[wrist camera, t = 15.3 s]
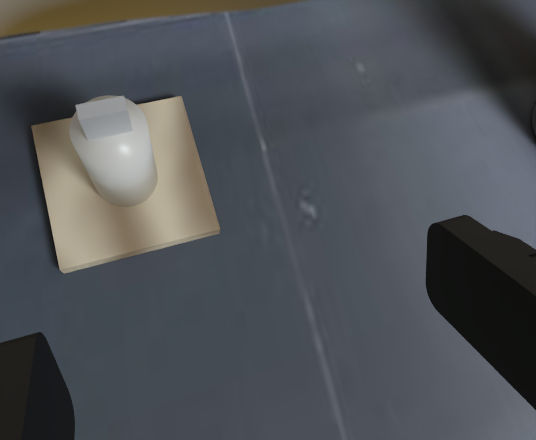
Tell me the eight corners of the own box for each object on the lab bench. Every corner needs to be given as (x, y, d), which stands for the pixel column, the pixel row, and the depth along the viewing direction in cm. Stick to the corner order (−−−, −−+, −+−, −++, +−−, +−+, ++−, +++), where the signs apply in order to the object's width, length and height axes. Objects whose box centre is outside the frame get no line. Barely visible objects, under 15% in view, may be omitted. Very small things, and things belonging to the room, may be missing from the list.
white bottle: (149, 144, 41) (133, 65, 31) (164, 198, 40) (152, 135, 30) (88, 157, 40) (51, 80, 30) (101, 213, 39) (67, 152, 29)
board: (181, 103, 44) (181, 95, 43) (219, 233, 41) (220, 228, 39) (35, 132, 41) (31, 125, 40) (63, 273, 38) (59, 270, 37)
